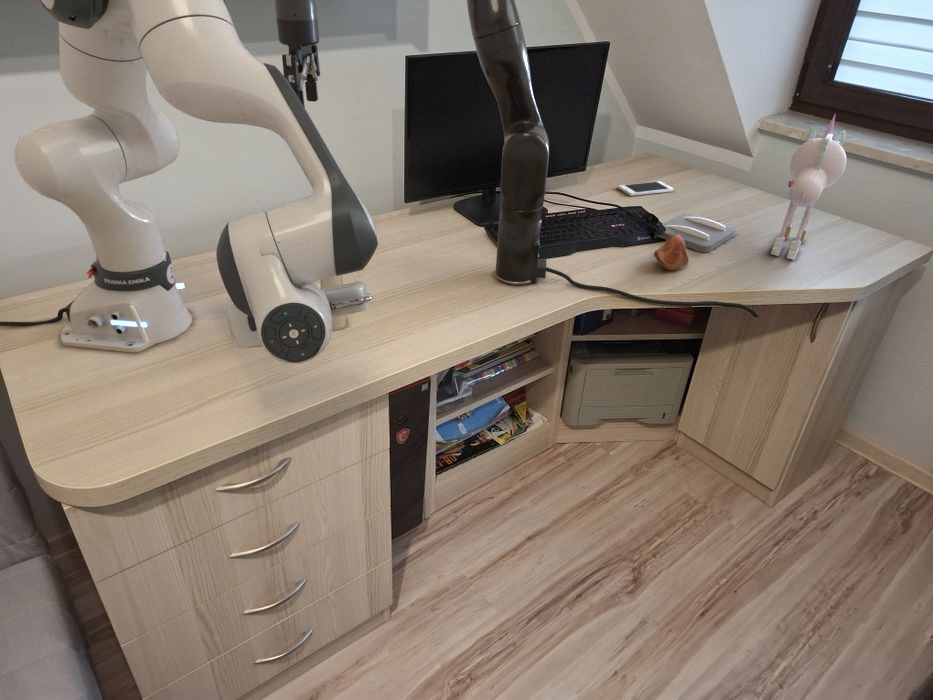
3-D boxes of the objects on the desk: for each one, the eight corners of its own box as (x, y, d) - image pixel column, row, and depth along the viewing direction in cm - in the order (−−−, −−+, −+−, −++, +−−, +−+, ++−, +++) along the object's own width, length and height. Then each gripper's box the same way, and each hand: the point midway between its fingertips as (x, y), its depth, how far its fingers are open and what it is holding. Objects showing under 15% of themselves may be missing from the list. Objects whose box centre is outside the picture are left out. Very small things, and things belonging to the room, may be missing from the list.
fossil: (662, 265, 143) (667, 221, 144) (634, 267, 151) (640, 225, 151) (699, 275, 150) (704, 233, 150) (671, 277, 157) (676, 237, 157)
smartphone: (617, 188, 196) (618, 185, 196) (659, 183, 201) (660, 180, 200) (630, 196, 191) (630, 193, 190) (673, 191, 196) (674, 188, 195)
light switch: (708, 241, 156) (653, 223, 165) (705, 253, 158) (650, 234, 167) (740, 223, 167) (687, 206, 176) (737, 234, 169) (684, 217, 178)
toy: (826, 222, 178) (867, 110, 161) (806, 269, 152) (852, 142, 135) (779, 212, 183) (814, 103, 167) (751, 256, 157) (789, 132, 141)
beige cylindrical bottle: (341, 317, 128) (334, 245, 119) (349, 326, 125) (343, 253, 116) (321, 322, 126) (313, 249, 117) (329, 331, 123) (322, 258, 114)
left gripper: (369, 276, 87) (362, 268, 100) (214, 304, 83) (228, 292, 96) (378, 320, 88) (370, 307, 101) (226, 351, 84) (238, 333, 98)
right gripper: (303, 21, 114) (313, 115, 123) (327, 12, 125) (334, 99, 134) (263, 19, 114) (275, 113, 123) (290, 10, 126) (299, 96, 135)
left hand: (299, 300), depth 99 cm, fingers open, 8 cm apart
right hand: (306, 105), depth 129 cm, fingers open, 8 cm apart
